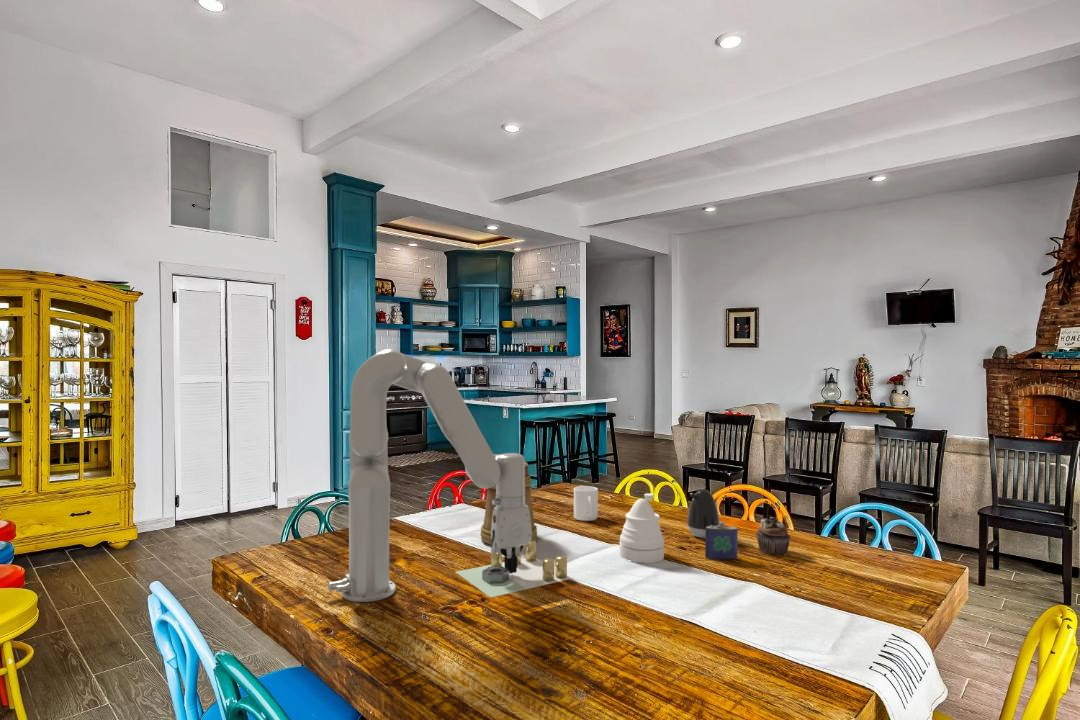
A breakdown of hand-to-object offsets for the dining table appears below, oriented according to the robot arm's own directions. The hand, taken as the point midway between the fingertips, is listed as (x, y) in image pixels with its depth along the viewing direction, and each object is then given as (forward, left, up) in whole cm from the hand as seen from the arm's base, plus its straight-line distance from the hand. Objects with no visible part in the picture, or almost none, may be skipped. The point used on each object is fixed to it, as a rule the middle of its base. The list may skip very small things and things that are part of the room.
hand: (511, 571), depth 159 cm
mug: (+52, +36, -2) cm, 63 cm away
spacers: (+5, 0, -1) cm, 5 cm away
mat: (+1, 0, -2) cm, 2 cm away
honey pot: (+42, -4, -2) cm, 42 cm away
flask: (+60, -18, -2) cm, 63 cm away
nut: (-5, 0, -1) cm, 5 cm away
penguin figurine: (+72, 0, -2) cm, 72 cm away
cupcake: (+78, -22, -2) cm, 81 cm away
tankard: (+18, +32, -2) cm, 37 cm away
